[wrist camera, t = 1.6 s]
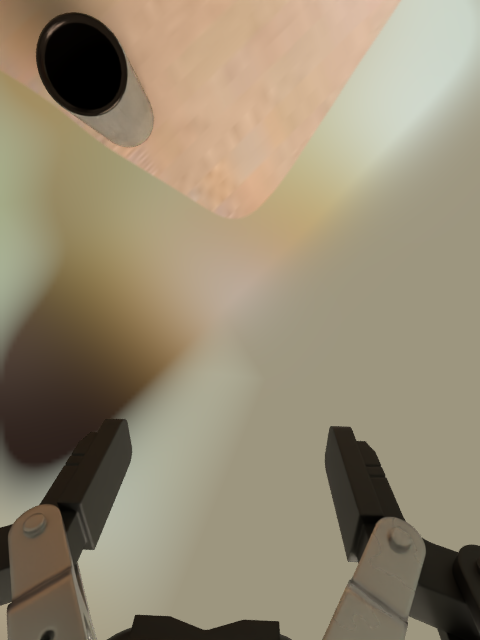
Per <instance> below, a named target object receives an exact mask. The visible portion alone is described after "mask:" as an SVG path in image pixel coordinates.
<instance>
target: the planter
mask: <svg viewBox="0 0 480 640" xmlns="http://www.w3.org/2000/svg"><path fill="white" fill-rule="evenodd" d="M36 62H37V68H38V72H39V75H40V78H41V80H42V82H43V84H44V86H45V88H46V90H47V91H48V93H49V94H50V95H51V97H52V98H53V99H54V100H55V101H56V102H57V103H58V104H59V105H60V106H62V107H63V108H64V109H66V110H67V111H68V112H70V113H71V114H73V115H74V116H76V117H77V118H78V119H80V120H81V121H83V122H84V123H86V124H87V125H88V126H90V127H91V128H93V129H94V130H96V131H97V132H98V133H100V134H101V135H103V136H104V137H105V138H107V139H108V140H110V141H111V142H113V143H115V144H117V145H119V146H123V147H134V146H138V145H140V144H142V143H143V142H144V141H145V140H146V139H147V138H148V137H149V135H150V133H151V131H152V128H153V121H154V118H153V111H152V108H151V105H150V102H149V100H148V98H147V96H146V94H145V92H144V90H143V88H142V86H141V84H140V82H139V80H138V78H137V76H136V74H135V72H134V70H133V68H132V66H131V64H130V62H129V60H128V58H127V56H126V54H125V52H124V50H123V48H122V46H121V44H120V43H119V41H118V39H117V38H116V36H115V35H114V34H113V33H112V31H111V30H110V29H109V28H108V27H107V26H106V25H104V24H103V23H102V22H100V21H99V20H97V19H96V18H94V17H92V16H89V15H87V14H83V13H76V12H70V13H64V14H61V15H59V16H56V17H55V18H53V19H52V20H51V21H49V22H48V23H47V24H46V26H45V27H44V28H43V30H42V32H41V34H40V36H39V39H38V43H37V48H36Z"/></svg>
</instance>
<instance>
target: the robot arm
mask: <svg viewBox="0 0 480 640" xmlns="http://www.w3.org/2000/svg"><path fill="white" fill-rule="evenodd" d="M131 456H132V445H131V440H130V435H129V429H128V423H127V420H125V419H105V420H104V422H103V423H102V425H101V427H100V429H99V430H98V432H90V433H89V434H88V435H87V436H85V437H84V438H83V439H82V440H81V441H80V442H79V443H78V445H77V446H76V448H75V449H74V451H73V453H72V455H71V456H70V457H69V459H68V460H67V462H66V465H65V466H64V467H63V468H62V470H61V472H60V473H59V475H58V476H57V478H56V480H55V481H54V483H53V484H52V486H51V488H50V489H49V491H48V492H47V494H46V496H45V497H44V499H43V500H42V502H41V503H40V505H39V506H35V507H33V508H31V509H29V510H28V511H26V512H25V513H23V514H22V515H21V516H20V517H19V518H18V519H17V520H16V521H15V522H14V524H12V525H9V526H5V527H1V528H0V605H3V604H7V603H10V602H12V603H10V604H9V605H8V607H7V631H8V640H97V638H96V634H95V631H94V627H93V624H92V620H91V616H90V612H89V608H88V604H87V600H86V596H85V591H84V587H83V583H82V578H81V574H80V570H79V566H78V563H77V561H78V559H79V557H80V555H81V552H82V550H83V549H86V550H94V549H95V547H96V545H97V542H98V540H99V537H100V535H101V532H102V530H103V528H104V525H105V523H106V520H107V518H108V515H109V513H110V511H111V508H112V506H113V503H114V501H115V498H116V496H117V493H118V491H119V489H120V486H121V484H122V481H123V479H124V477H125V474H126V472H127V469H128V467H129V464H130V461H131ZM325 468H326V473H327V477H328V481H329V486H330V490H331V494H332V498H333V502H334V506H335V510H336V514H337V519H338V522H339V527H340V531H341V535H342V539H343V543H344V547H345V552H346V556H347V560H348V562H358V563H359V564H358V566H357V568H356V571H355V573H354V575H353V577H352V579H351V580H349V582H348V584H347V586H346V588H345V590H344V593H343V595H342V597H341V599H340V601H339V604H338V606H337V608H336V610H335V613H334V615H333V617H332V619H331V621H330V624H329V626H328V628H327V630H326V633H325V635H324V637H323V639H322V640H404V638H405V634H406V630H407V626H408V622H407V620H408V616H410V617H412V618H414V619H417V620H419V621H421V622H424V623H426V624H429V625H431V626H433V627H436V628H437V629H438V632H439V635H440V638H441V640H480V546H478V545H466V546H464V547H462V548H461V549H460V551H459V553H458V552H455V551H453V550H450V549H447V548H444V547H441V546H438V545H435V544H433V543H431V542H429V541H427V540H425V539H423V538H422V537H421V536H420V534H419V533H418V532H417V531H416V530H415V528H413V527H412V526H411V525H410V524H408V523H407V522H406V521H405V519H404V518H403V515H402V513H401V511H400V508H399V506H398V504H397V502H396V499H395V497H394V494H393V492H392V490H391V488H390V485H389V483H388V480H387V478H385V473H384V471H383V469H382V467H381V464H380V462H379V459H378V457H377V455H376V453H375V451H374V450H373V449H372V448H371V447H370V446H369V445H368V444H367V443H366V442H365V441H356V439H355V436H354V434H353V431H352V429H351V427H339V426H331V427H330V429H329V434H328V440H327V446H326V452H325ZM107 640H291V639H290V638H288V637H286V636H283V635H281V634H280V629H279V622H278V621H258V620H241V621H238V622H234V623H231V624H227V625H224V626H220V627H217V628H213V629H210V630H202V629H200V628H197V627H195V626H193V625H190V624H188V623H185V622H183V621H180V620H178V619H175V618H173V617H170V616H151V615H135V618H134V622H133V625H132V628H129V629H126V630H124V631H122V632H120V633H117V634H115V635H114V636H112V637H111V638H109V639H107Z"/></svg>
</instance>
